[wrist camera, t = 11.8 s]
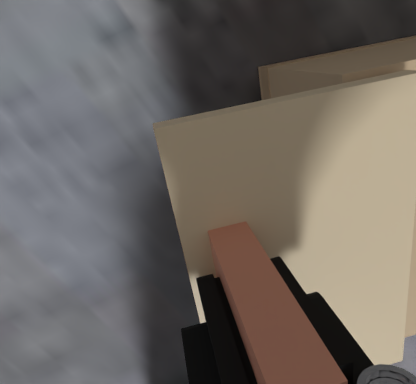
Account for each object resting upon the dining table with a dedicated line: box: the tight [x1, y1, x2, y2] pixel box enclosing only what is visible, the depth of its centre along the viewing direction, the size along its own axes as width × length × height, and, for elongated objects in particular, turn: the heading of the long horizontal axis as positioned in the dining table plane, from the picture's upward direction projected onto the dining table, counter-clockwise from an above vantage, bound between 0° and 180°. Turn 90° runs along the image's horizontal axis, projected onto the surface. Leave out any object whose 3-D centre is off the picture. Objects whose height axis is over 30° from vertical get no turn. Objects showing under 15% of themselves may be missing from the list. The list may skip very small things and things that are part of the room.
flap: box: [153, 70, 416, 384], centre depth 9 cm, size 8×12×6 cm
